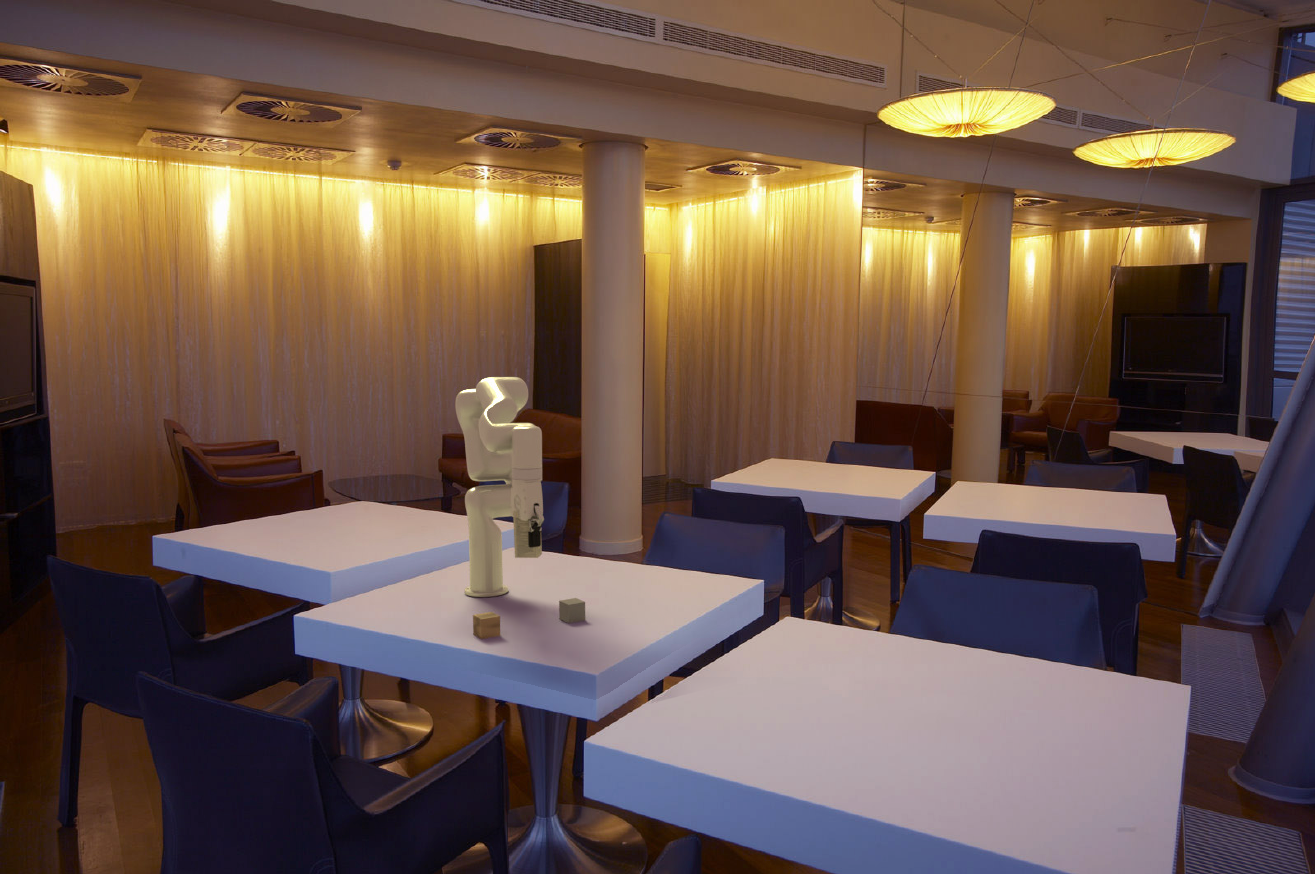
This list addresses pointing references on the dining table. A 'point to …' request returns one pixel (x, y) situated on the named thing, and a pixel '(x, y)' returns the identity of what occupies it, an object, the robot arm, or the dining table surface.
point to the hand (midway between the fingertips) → (527, 543)
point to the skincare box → (523, 539)
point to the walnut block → (486, 625)
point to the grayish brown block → (572, 610)
